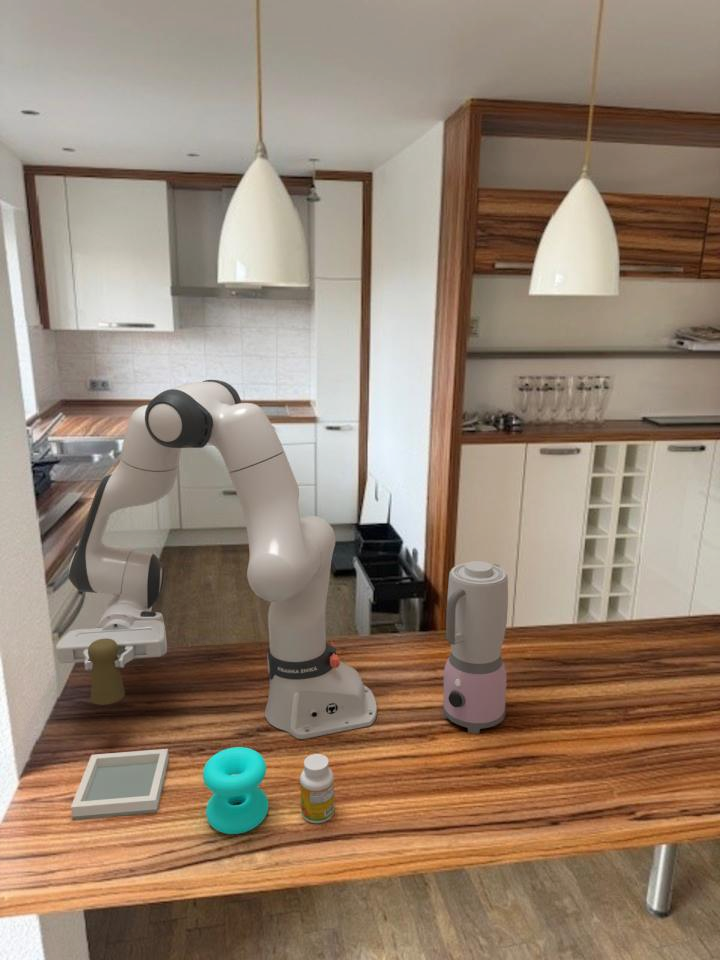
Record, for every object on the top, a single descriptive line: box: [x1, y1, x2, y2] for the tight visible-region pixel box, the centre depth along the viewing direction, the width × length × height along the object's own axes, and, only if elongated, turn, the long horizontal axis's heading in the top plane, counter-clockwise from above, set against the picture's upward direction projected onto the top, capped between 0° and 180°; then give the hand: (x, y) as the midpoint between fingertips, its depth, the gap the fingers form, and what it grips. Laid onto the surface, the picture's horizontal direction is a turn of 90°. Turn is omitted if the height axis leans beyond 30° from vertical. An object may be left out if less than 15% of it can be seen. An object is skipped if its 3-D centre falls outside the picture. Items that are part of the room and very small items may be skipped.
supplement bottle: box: [299, 753, 335, 824], centre depth 116 cm, size 5×5×10 cm
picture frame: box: [70, 748, 170, 821], centre depth 123 cm, size 13×13×2 cm
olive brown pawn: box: [88, 638, 126, 706], centre depth 132 cm, size 6×6×11 cm
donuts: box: [202, 746, 269, 835], centre depth 115 cm, size 10×10×10 cm
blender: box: [442, 560, 509, 735], centre depth 137 cm, size 16×12×32 cm
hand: (103, 665), depth 130 cm, fingers closed on olive brown pawn, 4 cm apart
